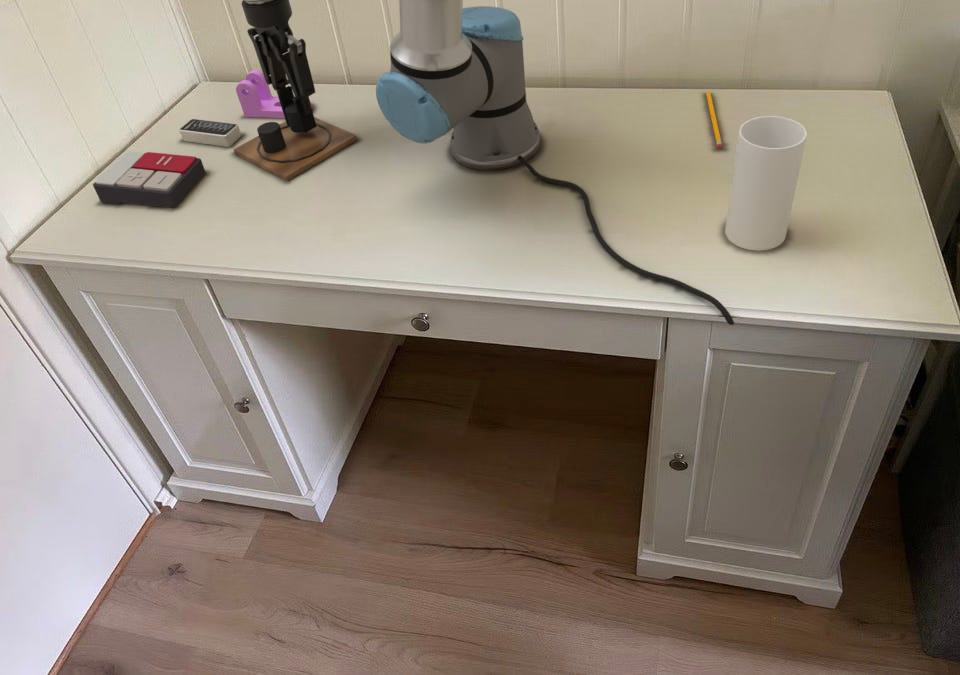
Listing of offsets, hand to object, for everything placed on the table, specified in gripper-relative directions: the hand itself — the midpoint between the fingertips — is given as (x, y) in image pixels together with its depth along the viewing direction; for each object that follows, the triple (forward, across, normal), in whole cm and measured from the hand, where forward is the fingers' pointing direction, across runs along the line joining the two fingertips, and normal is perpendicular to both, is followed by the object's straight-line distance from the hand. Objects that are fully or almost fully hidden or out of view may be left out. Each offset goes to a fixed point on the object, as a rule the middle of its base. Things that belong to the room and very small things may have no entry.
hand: (301, 125), depth 143 cm
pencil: (+3, -58, -44) cm, 73 cm away
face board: (+2, -1, +3) cm, 4 cm away
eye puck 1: (+1, 0, +6) cm, 7 cm away
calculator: (+3, +10, +26) cm, 28 cm away
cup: (+3, -79, -20) cm, 82 cm away
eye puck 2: (0, 0, 0) cm, 0 cm away
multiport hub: (+3, +16, +10) cm, 19 cm away
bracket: (+3, +13, -4) cm, 13 cm away
